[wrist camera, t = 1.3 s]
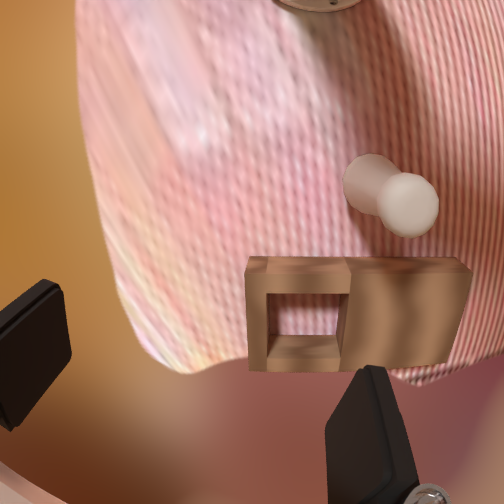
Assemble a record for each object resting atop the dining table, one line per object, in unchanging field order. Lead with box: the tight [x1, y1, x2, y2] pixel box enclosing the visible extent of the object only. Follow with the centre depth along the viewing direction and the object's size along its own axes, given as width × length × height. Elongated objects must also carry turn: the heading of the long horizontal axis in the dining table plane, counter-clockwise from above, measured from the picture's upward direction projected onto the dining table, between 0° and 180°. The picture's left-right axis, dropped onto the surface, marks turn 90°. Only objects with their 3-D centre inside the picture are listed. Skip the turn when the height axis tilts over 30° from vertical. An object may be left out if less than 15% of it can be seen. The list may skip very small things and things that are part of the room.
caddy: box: [244, 256, 473, 372], centre depth 32 cm, size 24×12×4 cm, turn 92°
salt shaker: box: [342, 153, 439, 239], centre depth 24 cm, size 6×6×13 cm
